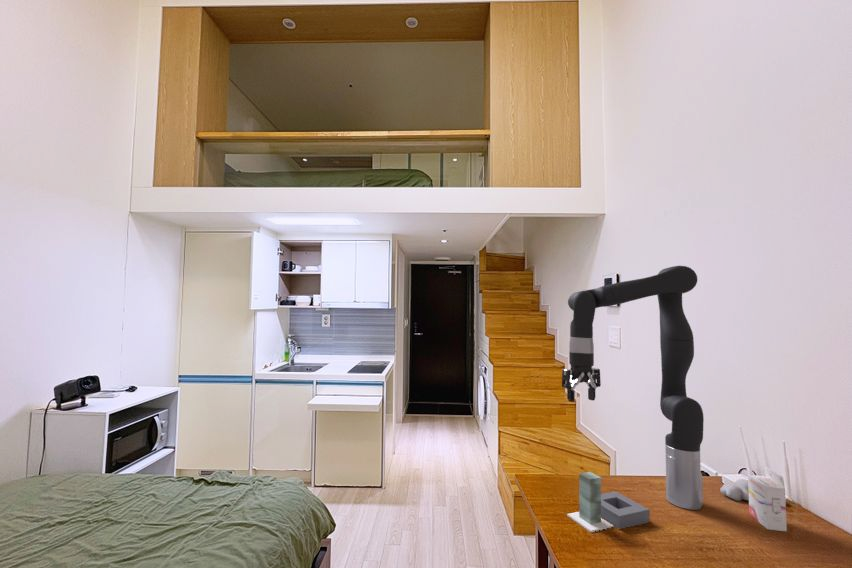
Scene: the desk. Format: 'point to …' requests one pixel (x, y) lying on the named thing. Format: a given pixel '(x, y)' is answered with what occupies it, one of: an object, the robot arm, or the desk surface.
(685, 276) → the robot arm
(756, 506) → the ink cartridge box
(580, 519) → the mat
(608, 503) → the pocket holder
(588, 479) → the peg
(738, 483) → the bunny figurine
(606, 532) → the desk surface
